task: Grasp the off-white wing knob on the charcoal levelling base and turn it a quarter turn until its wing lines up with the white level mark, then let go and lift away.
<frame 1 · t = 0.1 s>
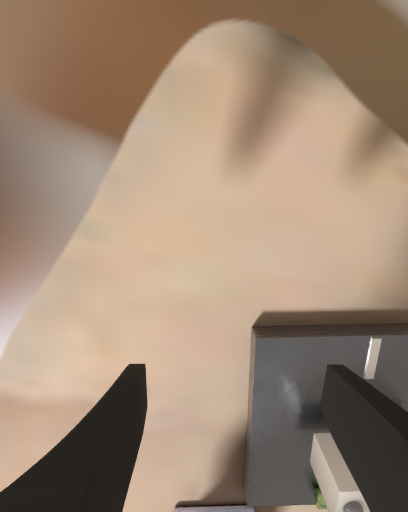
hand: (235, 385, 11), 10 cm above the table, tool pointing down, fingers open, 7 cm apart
levelling base: (348, 414, 24), on the table
wing knob: (380, 464, 20), point 4 cm above the table, hinge at 0.0°
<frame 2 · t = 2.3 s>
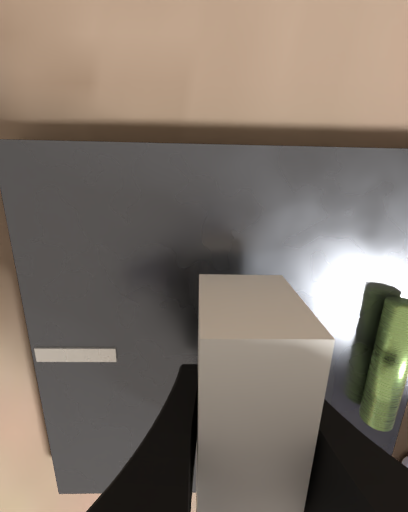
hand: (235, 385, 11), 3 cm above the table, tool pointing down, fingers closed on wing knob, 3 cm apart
levelling base: (226, 335, 14), on the table
wing knob: (239, 405, 10), point 4 cm above the table, hinge at 0.0°, touching gripper
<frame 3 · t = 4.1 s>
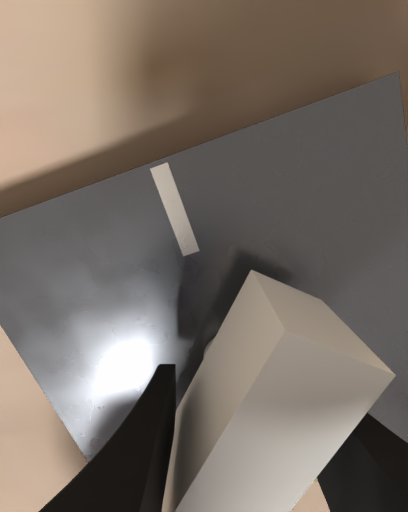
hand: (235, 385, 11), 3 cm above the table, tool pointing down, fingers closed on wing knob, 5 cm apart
levelling base: (226, 336, 14), on the table
wing knob: (238, 405, 10), point 4 cm above the table, hinge at 46.6°, touching gripper
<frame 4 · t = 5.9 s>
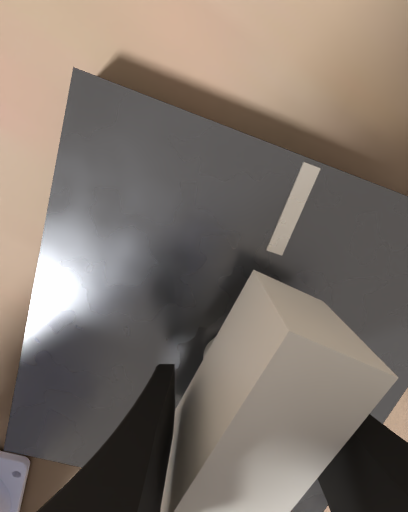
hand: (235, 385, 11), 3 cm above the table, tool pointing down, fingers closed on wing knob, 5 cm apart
levelling base: (225, 336, 14), on the table
wing knob: (238, 405, 10), point 4 cm above the table, hinge at 83.6°, touching gripper
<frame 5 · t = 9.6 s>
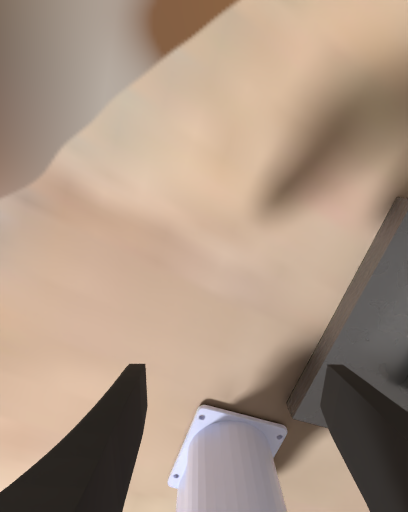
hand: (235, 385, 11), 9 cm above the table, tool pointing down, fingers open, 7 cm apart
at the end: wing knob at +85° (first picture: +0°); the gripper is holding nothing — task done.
